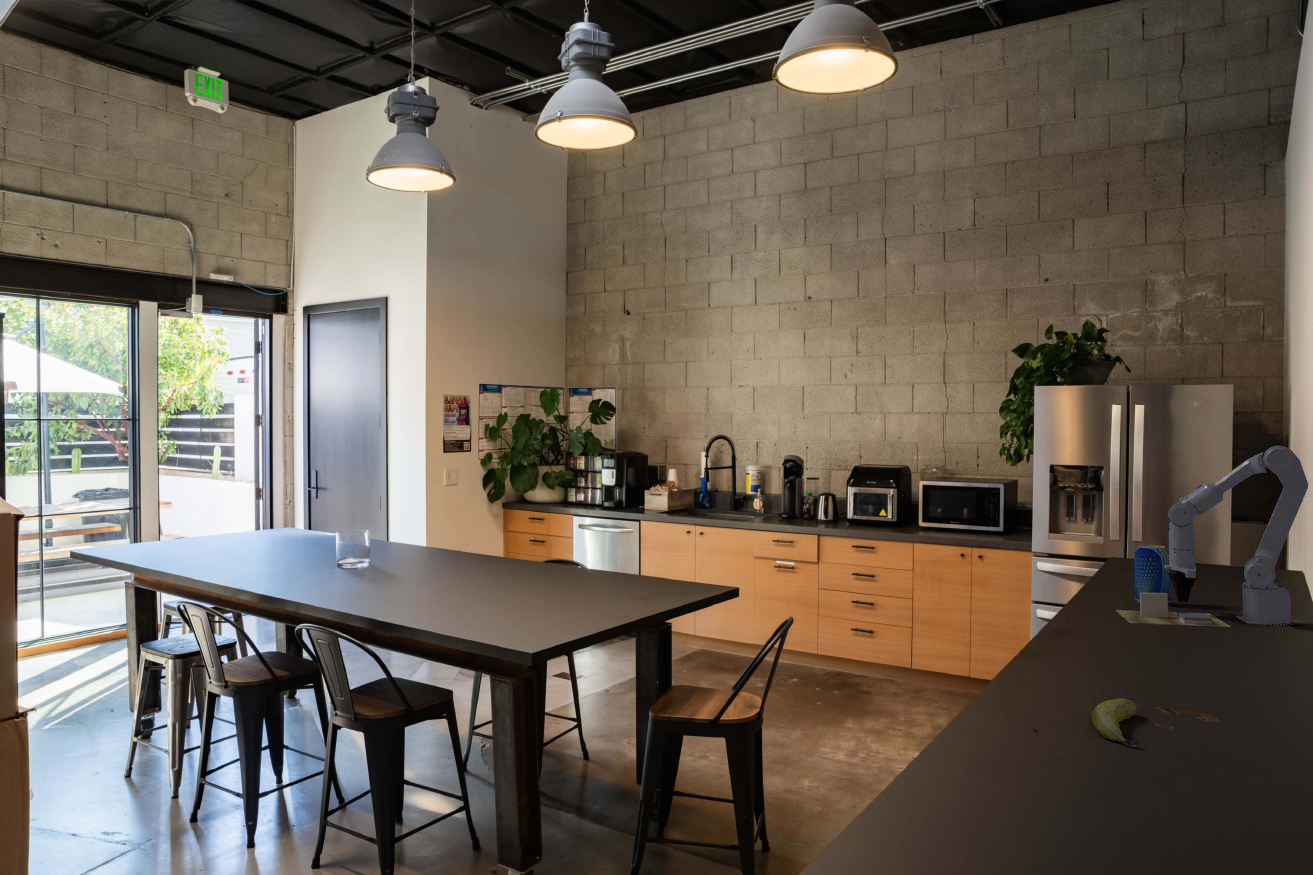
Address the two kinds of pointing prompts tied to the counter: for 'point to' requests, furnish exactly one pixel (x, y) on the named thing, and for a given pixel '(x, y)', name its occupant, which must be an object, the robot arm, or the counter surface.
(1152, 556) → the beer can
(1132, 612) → the cork mat
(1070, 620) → the counter surface
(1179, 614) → the tile near
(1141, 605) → the tile far
